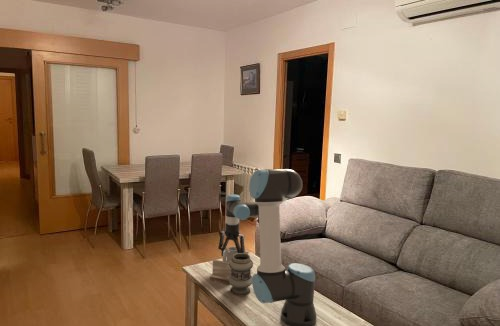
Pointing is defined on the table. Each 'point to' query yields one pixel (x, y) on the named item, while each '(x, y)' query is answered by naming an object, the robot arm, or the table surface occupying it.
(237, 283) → the apothecary jar
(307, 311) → the robot arm
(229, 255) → the mug
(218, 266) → the shelf
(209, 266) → the table surface
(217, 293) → the table surface
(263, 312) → the table surface
